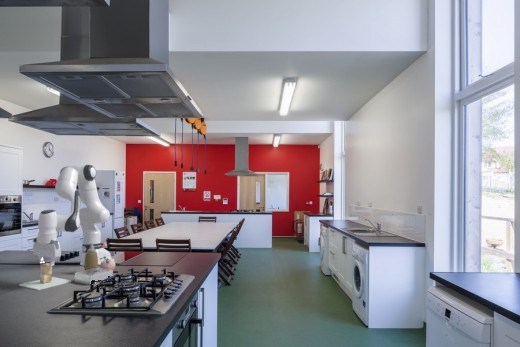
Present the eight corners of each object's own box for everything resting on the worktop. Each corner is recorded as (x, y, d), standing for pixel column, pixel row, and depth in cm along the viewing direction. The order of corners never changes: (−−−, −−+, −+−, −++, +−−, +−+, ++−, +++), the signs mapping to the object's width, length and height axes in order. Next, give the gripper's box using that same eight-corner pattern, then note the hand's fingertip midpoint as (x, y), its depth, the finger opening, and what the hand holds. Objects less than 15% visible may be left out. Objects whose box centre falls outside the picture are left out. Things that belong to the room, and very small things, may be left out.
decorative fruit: (117, 274, 205) (118, 257, 206) (104, 276, 199) (104, 259, 200) (111, 271, 212) (111, 255, 212) (97, 274, 206) (98, 257, 206)
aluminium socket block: (96, 275, 201) (97, 267, 202) (112, 278, 195) (112, 270, 195) (74, 281, 189) (74, 272, 189) (90, 284, 182) (90, 275, 183)
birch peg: (47, 281, 187) (47, 263, 188) (51, 282, 186) (52, 263, 186) (39, 283, 184) (40, 264, 184) (44, 283, 182) (44, 265, 183)
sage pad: (52, 277, 197) (52, 276, 197) (71, 281, 188) (71, 280, 189) (18, 285, 181) (18, 284, 181) (38, 290, 173) (38, 289, 173)
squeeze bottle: (101, 271, 212) (101, 242, 213) (90, 274, 205) (91, 244, 206) (91, 270, 215) (91, 242, 216) (80, 273, 207) (81, 244, 208)
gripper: (64, 240, 184) (63, 265, 183) (42, 237, 193) (42, 261, 193) (52, 241, 178) (52, 267, 178) (31, 238, 188) (30, 263, 187)
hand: (46, 264), depth 185 cm, fingers open, 8 cm apart
